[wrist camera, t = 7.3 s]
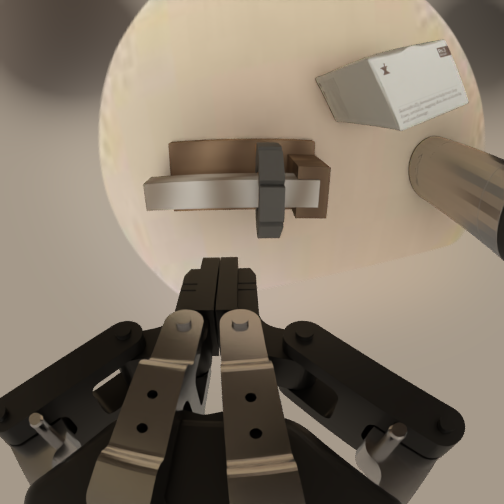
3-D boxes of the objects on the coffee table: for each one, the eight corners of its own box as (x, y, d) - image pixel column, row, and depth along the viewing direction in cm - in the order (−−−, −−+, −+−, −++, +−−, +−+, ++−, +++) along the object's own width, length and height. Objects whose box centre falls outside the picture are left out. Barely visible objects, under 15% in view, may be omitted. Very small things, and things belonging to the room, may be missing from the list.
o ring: (274, 139, 29) (286, 152, 21) (272, 215, 33) (282, 252, 26) (255, 138, 29) (260, 151, 21) (255, 215, 33) (259, 252, 25)
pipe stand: (311, 140, 32) (333, 152, 24) (307, 204, 35) (325, 234, 28) (163, 142, 31) (140, 155, 24) (168, 207, 35) (150, 237, 28)
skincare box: (335, 121, 31) (396, 139, 18) (312, 75, 28) (363, 59, 15) (392, 98, 29) (473, 107, 16) (372, 54, 26) (448, 37, 13)
